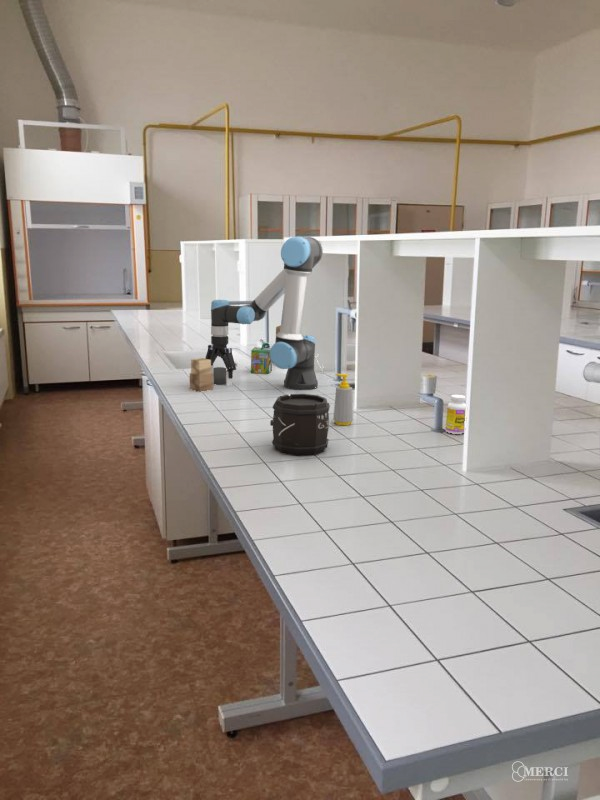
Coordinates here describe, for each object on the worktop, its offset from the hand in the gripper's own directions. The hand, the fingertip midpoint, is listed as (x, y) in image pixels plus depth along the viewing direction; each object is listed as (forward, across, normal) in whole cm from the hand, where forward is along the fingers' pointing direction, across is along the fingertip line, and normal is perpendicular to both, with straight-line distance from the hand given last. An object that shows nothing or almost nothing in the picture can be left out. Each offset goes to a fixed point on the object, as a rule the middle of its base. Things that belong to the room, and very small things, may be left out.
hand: (219, 383), depth 302 cm
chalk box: (0, +9, -33) cm, 34 cm away
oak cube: (-7, -5, +14) cm, 16 cm away
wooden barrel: (0, -92, +42) cm, 101 cm away
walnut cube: (0, -5, +14) cm, 15 cm away
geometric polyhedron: (0, -7, -52) cm, 52 cm away
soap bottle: (0, -81, +9) cm, 81 cm away
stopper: (0, 0, 0) cm, 0 cm away
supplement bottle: (0, -114, -12) cm, 115 cm away
